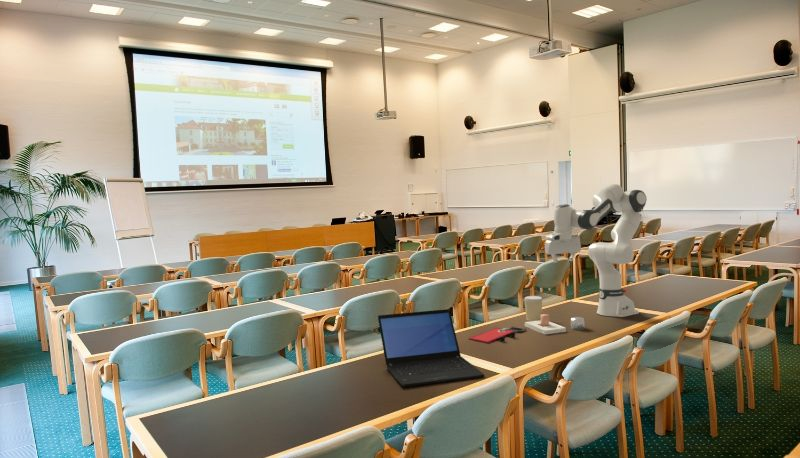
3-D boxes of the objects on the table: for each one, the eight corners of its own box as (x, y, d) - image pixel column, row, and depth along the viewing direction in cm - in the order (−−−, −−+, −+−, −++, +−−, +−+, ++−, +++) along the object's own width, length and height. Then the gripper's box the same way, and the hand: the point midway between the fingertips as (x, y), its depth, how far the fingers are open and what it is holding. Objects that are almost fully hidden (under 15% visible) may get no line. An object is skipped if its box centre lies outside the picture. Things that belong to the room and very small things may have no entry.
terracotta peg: (546, 327, 276) (545, 313, 276) (550, 329, 273) (550, 315, 272) (539, 328, 275) (539, 314, 275) (543, 330, 271) (543, 316, 271)
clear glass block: (578, 326, 277) (578, 316, 277) (587, 329, 271) (586, 319, 270) (568, 327, 275) (568, 317, 275) (576, 330, 269) (576, 320, 268)
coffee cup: (541, 317, 297) (540, 295, 296) (544, 321, 287) (543, 299, 286) (523, 317, 298) (523, 295, 297) (526, 322, 288) (525, 299, 287)
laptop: (401, 389, 200) (400, 338, 198) (378, 359, 236) (376, 315, 235) (485, 378, 209) (484, 328, 207) (450, 350, 245) (449, 308, 243)
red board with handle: (530, 331, 270) (505, 327, 281) (530, 325, 270) (504, 321, 281) (494, 346, 250) (468, 341, 260) (494, 340, 249) (468, 335, 260)
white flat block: (544, 323, 284) (544, 319, 284) (565, 331, 267) (565, 327, 267) (524, 325, 280) (524, 322, 280) (544, 334, 263) (544, 330, 263)
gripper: (575, 234, 293) (576, 259, 294) (542, 236, 286) (543, 262, 288) (583, 234, 287) (583, 260, 288) (549, 237, 280) (550, 264, 282)
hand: (563, 261), depth 288 cm, fingers open, 8 cm apart
